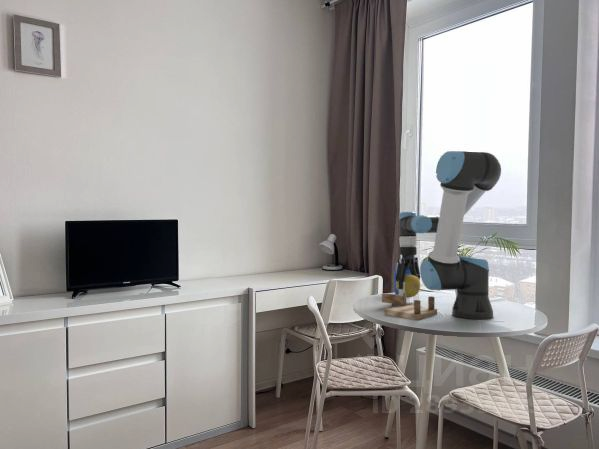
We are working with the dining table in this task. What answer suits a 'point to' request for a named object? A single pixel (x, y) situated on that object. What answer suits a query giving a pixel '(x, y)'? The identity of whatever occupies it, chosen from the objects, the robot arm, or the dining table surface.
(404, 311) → the stool seat
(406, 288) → the fruit
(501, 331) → the dining table surface
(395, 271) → the beer can
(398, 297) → the hinge leg
